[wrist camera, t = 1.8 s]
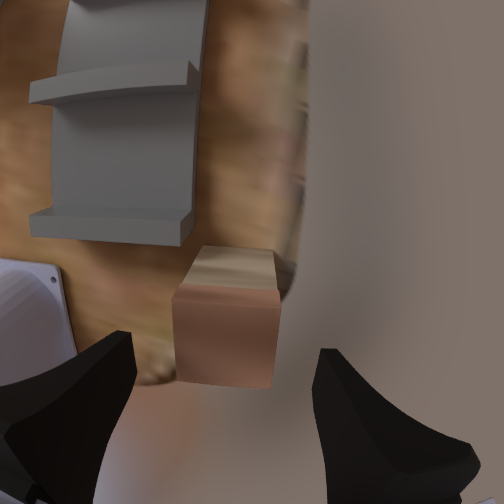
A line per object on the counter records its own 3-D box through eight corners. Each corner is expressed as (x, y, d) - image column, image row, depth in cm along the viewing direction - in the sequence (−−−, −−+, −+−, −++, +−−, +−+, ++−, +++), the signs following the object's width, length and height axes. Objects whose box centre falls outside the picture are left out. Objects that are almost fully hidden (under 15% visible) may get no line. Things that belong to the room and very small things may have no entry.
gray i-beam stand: (194, 227, 18) (180, 246, 15) (62, 221, 18) (31, 236, 15) (214, -31, 13) (205, -61, 10) (80, -10, 13) (54, -29, 10)
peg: (267, 312, 20) (270, 389, 13) (201, 307, 20) (177, 380, 13) (273, 248, 18) (281, 307, 12) (202, 244, 18) (171, 299, 12)
